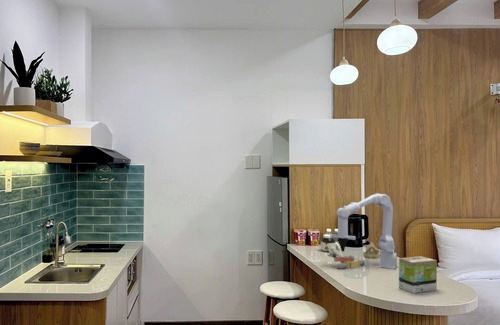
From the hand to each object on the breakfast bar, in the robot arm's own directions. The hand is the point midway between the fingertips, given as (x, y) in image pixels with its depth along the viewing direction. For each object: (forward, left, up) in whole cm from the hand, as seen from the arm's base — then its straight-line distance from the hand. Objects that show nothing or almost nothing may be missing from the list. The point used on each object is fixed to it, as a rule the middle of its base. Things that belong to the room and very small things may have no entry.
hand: (342, 251), depth 221 cm
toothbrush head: (+8, -20, -10) cm, 24 cm away
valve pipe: (-4, -4, -10) cm, 11 cm away
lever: (-1, -1, -6) cm, 6 cm away
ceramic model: (-8, -39, -10) cm, 42 cm away
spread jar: (+20, -39, -10) cm, 45 cm away
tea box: (-43, +20, -10) cm, 48 cm away
